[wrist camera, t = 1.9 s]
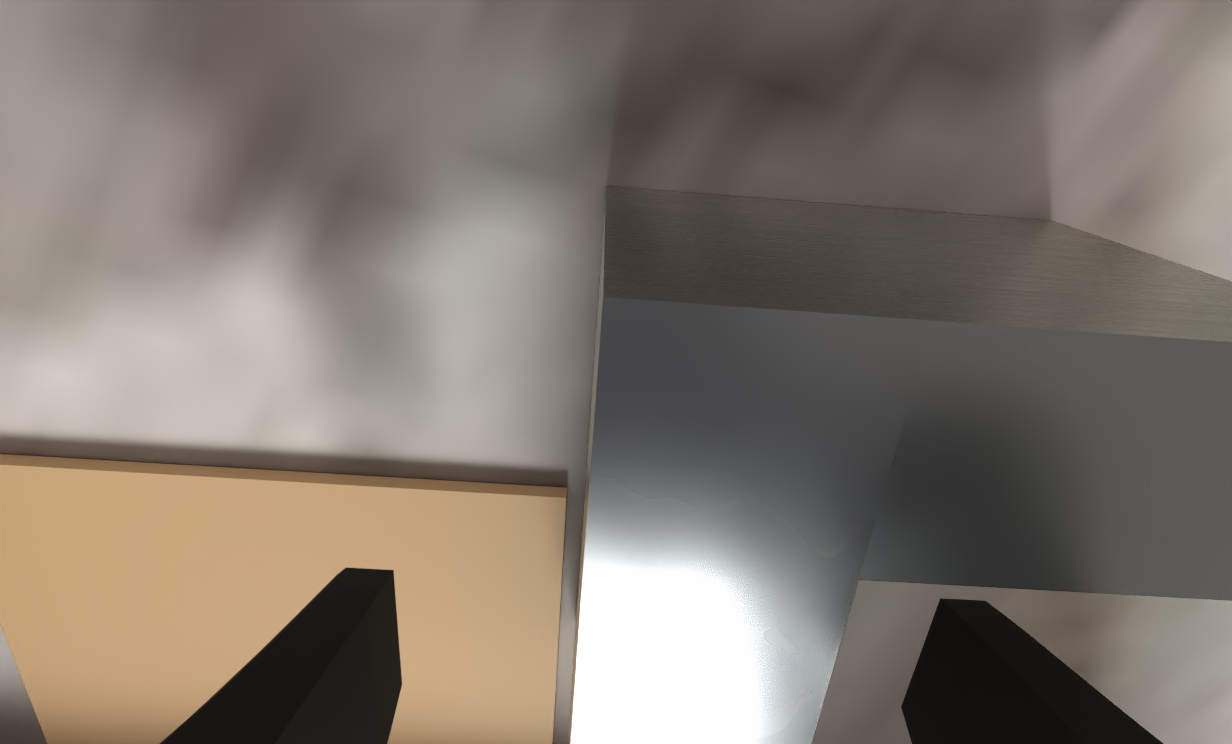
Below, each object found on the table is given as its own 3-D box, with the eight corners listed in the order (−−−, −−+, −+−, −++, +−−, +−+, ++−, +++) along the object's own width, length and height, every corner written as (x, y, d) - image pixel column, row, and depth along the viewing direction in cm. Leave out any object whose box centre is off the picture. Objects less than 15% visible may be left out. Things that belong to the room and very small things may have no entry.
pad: (567, 487, 11) (566, 497, 11) (549, 811, 15) (547, 825, 15) (-48, 451, 11) (-64, 460, 11) (81, 792, 14) (71, 806, 14)
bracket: (605, 186, 9) (601, 297, 5) (1052, 220, 10) (1453, 358, 5) (575, 621, 13) (556, 934, 8) (909, 639, 13) (1075, 952, 8)
